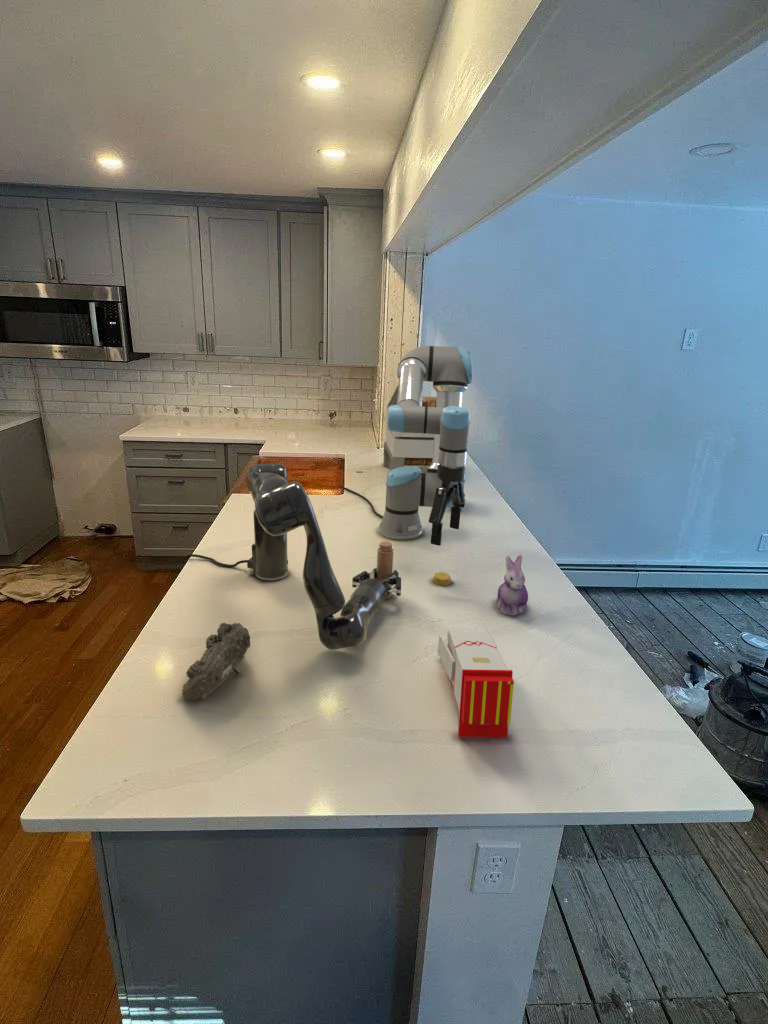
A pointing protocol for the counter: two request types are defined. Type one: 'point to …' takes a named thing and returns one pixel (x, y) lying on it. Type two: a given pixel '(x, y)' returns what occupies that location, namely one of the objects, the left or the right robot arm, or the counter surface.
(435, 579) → the lid
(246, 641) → the fossil
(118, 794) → the counter surface
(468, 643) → the toy
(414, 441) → the white storage crate
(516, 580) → the figurine
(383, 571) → the jar
